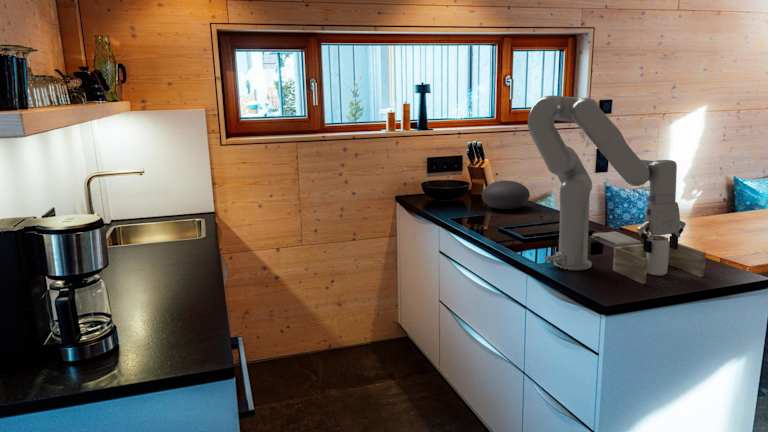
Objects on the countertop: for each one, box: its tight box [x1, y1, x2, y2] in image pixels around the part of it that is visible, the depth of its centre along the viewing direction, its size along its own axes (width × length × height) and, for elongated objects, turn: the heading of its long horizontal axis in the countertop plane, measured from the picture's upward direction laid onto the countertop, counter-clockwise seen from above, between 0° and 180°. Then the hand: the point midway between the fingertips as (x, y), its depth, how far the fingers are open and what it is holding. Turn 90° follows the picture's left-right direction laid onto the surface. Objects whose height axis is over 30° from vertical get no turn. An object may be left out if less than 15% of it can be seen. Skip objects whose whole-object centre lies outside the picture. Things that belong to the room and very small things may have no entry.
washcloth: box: [591, 231, 643, 249], centre depth 222 cm, size 12×18×3 cm, turn 13°
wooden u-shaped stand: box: [612, 242, 707, 285], centre depth 182 cm, size 22×15×8 cm
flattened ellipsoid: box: [481, 179, 531, 210], centre depth 291 cm, size 25×25×15 cm
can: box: [646, 235, 669, 277], centre depth 182 cm, size 6×6×12 cm
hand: (660, 250), depth 181 cm, fingers open, 9 cm apart
